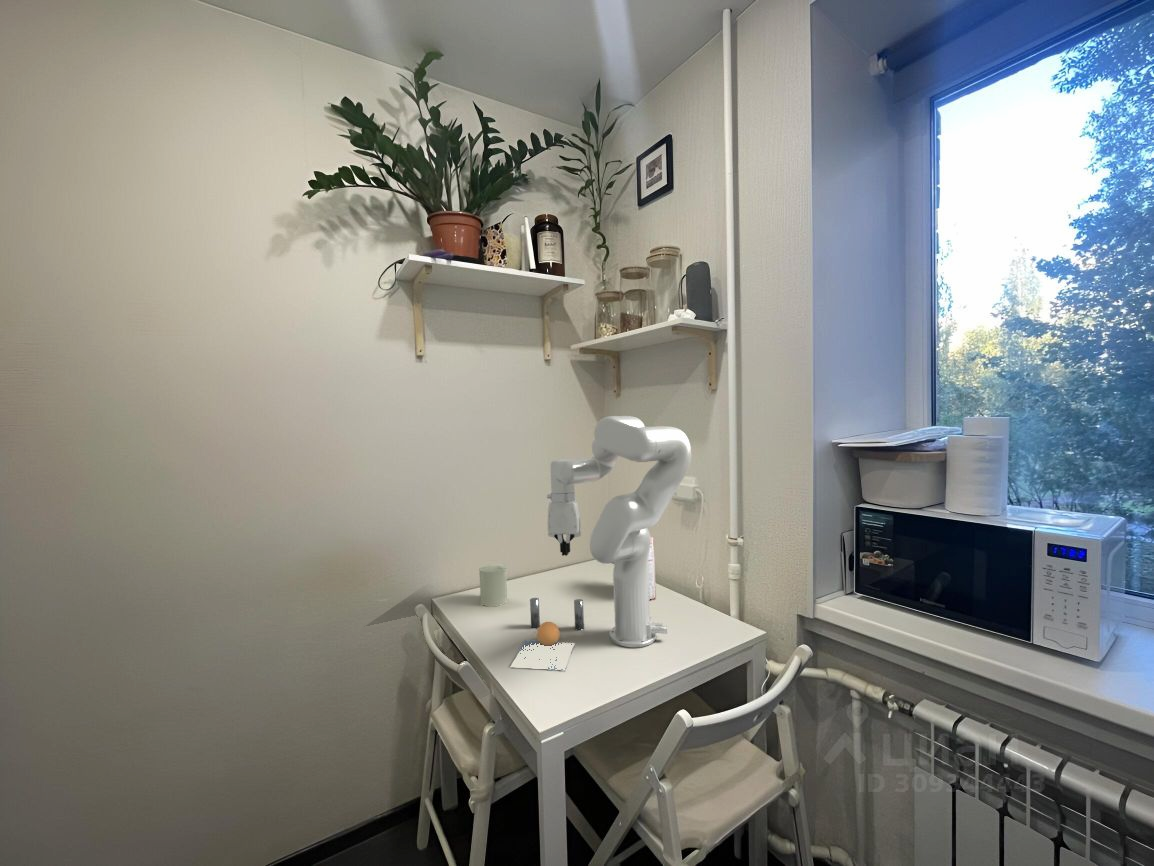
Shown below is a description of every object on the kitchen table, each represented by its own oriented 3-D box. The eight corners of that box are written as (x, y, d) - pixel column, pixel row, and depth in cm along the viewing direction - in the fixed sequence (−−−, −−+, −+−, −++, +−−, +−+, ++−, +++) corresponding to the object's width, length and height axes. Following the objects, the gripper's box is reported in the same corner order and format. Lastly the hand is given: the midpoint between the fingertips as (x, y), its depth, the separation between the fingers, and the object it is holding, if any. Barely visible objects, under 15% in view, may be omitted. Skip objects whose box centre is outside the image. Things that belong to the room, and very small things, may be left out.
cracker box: (620, 589, 160) (617, 530, 160) (634, 586, 163) (632, 528, 162) (641, 602, 147) (638, 538, 147) (656, 599, 150) (654, 536, 150)
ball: (556, 624, 118) (555, 649, 117) (562, 621, 124) (561, 645, 122) (535, 622, 119) (532, 646, 118) (541, 619, 125) (539, 642, 124)
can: (502, 607, 148) (500, 570, 148) (475, 606, 150) (474, 570, 150) (511, 596, 157) (510, 562, 157) (486, 595, 159) (485, 561, 159)
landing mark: (575, 643, 121) (575, 642, 121) (565, 671, 107) (565, 670, 107) (525, 641, 124) (525, 640, 124) (508, 668, 110) (508, 667, 110)
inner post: (584, 626, 131) (583, 599, 131) (583, 630, 129) (582, 602, 129) (575, 626, 132) (574, 598, 132) (574, 630, 129) (573, 602, 129)
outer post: (540, 624, 133) (539, 597, 133) (538, 628, 131) (537, 601, 131) (532, 624, 134) (531, 597, 134) (529, 628, 131) (528, 601, 131)
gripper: (537, 499, 143) (540, 557, 144) (584, 499, 141) (586, 558, 141) (543, 496, 151) (545, 551, 151) (587, 495, 148) (590, 551, 148)
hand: (565, 554), depth 146 cm, fingers closed
